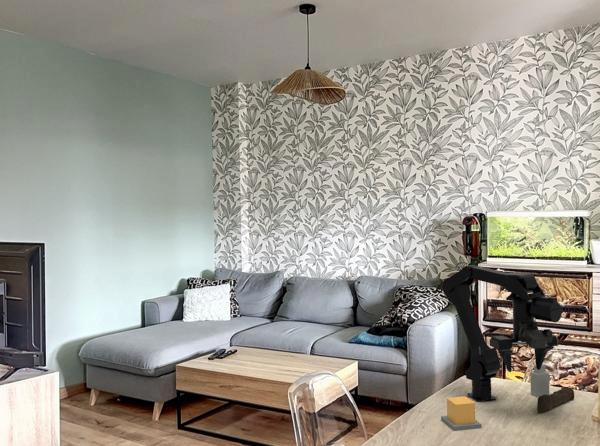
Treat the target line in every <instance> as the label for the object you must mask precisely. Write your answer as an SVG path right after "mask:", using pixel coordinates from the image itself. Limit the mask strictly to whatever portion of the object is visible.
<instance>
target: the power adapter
mask: <svg viewBox="0 0 600 446" xmlns="http://www.w3.org/2000/svg"><path fill="white" fill-rule="evenodd" d="M546 365H547V364H546V363H542V366H541V368H540V370H538V369H537V367H536V363H534V364H533V371H530V395H531V396H532V397H535V398H538V397H539V396H542V395H544V394H545V395H550V372H549V371H546V369H547V368H546Z"/></svg>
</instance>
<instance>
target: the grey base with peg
mask: <svg viewBox="0 0 600 446" xmlns="http://www.w3.org/2000/svg"><path fill="white" fill-rule="evenodd" d="M440 420H441V421H442V422H444V424H445V425H447V426H448V427H449V428H450V429H451V430H453V431H463V430H471V429H472V430H473V429H482V423H481V422H479V421H478V420H477V419H475V423H470V424H460V425H456V424H455V423H453V422H452V421H451V420H450V419H448V418H447V415H441V416H440Z"/></svg>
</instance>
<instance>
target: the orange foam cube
mask: <svg viewBox="0 0 600 446" xmlns="http://www.w3.org/2000/svg"><path fill="white" fill-rule="evenodd" d="M446 416H447V418H448V419H450V420H451V421H452V422H453V423H455V424H456V425H460V424H470V423H475V420H476V402H474V401H473V400H472V399H470V398H468V397H467V396H466V395H465V396H455V397H446Z"/></svg>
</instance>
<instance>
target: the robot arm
mask: <svg viewBox="0 0 600 446" xmlns="http://www.w3.org/2000/svg"><path fill="white" fill-rule="evenodd" d="M476 280H477V281H480V282H484V283H487V284H492V285H496V286H499V287H501V288H504V290H506V291H507V292H510V294H509V295H507V296H506V298H505V300H506V301H509V302H510V301H511V302H512V318H511V319H509V320H510V323H511V324H512V332H510V337H511V338H509V337H507V336H505V335H493V336H491V337H490V339H489V345H488V344H487V341H486V340H485V337H484V334H483V332H482V329H481V327H480V324H479V321H478V319H477V317H476V314H475V312H474V309H473V307H472V304H471V301H470V299H471V288H470V287H471V286H472V285H473V284H474V283H475V281H476ZM441 291H442V292H443V293H444V296H445V298H446V299H447V300H448V302H450V303H451V304H452V305H453V306H454V307H455V311H456V313H457V315H458V318H459V321H460V323H461V326H462V329H463V331H464V334H465V336H466V339H467V342H468V344H469V347H470V357H469V360H470V364H471V366H469V368H467V369H466V370H465V371H464V375H465V378H466V380H470V381H471V392H468V393H467V396H468V397H470V398H471V399H473V400H474V401H476V402H484V401H485V402H486V401H494V400H496V399H497V398H496V397H495V396H494V395H492V379H493V378H497V375H498V373H499V371H500V369H501V366H502V365H501V361H502V360H503V363H504V365H505V367H506V370H507V372H509V373H511V372H512V369H513V368H512V355H513V353H514V350H513V349H512V348H513V346H518V345H528V348H531V349H533V350H534V351H533V352H534V360H535V364H536V367H537V369H538V370H540V368H541V366H542V364H544V360H545V358H546V356H547V354H548V352H549V351H551V350H554V349H555V347H559V338H558V337H557V336H556V335H555V334H553V331H552V329H550V328H548V329H547V328H546V329H545V328H544V329H539V328H538V322H537V321H535V320H538V321H545V322H548V323H549V322H550V323H558V322H559V321H560V320H561V318H562V315H563V308H562V306H561V304H560V302H558V298H557V297H554V296H549V297H548V296H546V293H544V290H543V289H542V288H541V287H540V284H539V283H538V280H537V278H536V277H535V275H534V274H532V273H527V272H505V271H501V270H496V269H492V268H487V267H483V266H479V265H477V264H470V265H465V266H463V267H462V268H461V269H460V270H459V271H457V272H455V273H454V274H452V275H451V276H449V277H447V278H445V279H444V280H443V282H442V284H441ZM491 347H492V348H491ZM499 355H500V356H499ZM500 357H501V358H500Z"/></svg>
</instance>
